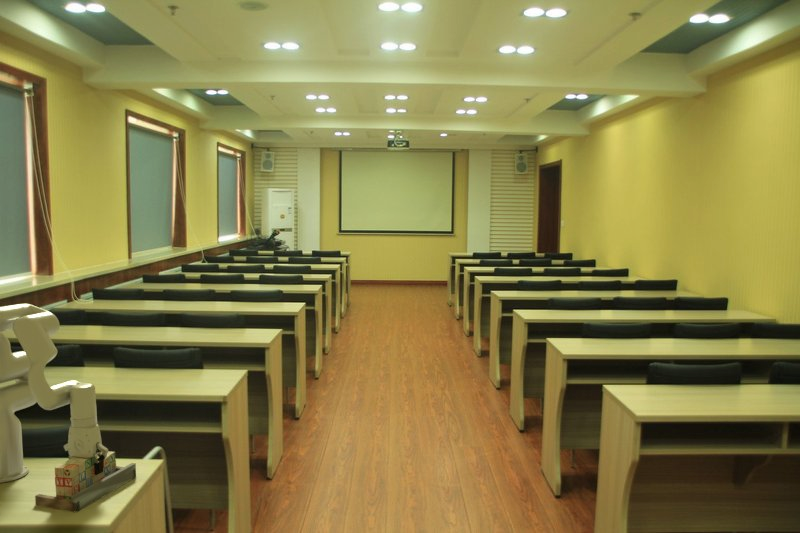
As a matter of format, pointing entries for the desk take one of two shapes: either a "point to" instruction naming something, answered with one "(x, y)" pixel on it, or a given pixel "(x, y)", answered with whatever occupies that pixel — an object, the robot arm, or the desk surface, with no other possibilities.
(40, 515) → the desk surface
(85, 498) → the u-shaped fence
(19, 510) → the desk surface
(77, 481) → the stack of blocks
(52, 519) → the desk surface
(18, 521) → the desk surface
